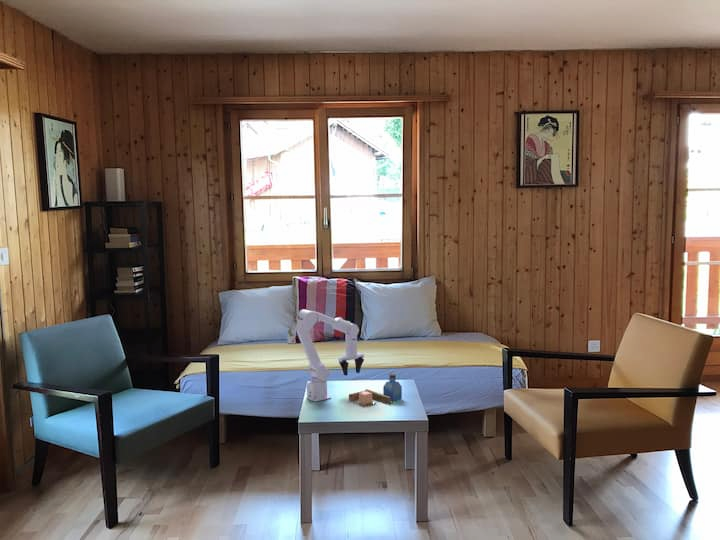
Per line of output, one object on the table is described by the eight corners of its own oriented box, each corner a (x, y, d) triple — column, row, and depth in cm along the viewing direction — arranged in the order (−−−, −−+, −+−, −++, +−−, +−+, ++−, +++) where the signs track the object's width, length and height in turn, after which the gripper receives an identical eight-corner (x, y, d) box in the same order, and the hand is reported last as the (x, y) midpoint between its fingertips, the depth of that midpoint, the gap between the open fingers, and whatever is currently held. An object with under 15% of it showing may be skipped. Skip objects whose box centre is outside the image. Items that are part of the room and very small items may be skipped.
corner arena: (369, 408, 284) (369, 402, 283) (346, 400, 298) (346, 394, 298) (390, 403, 291) (390, 397, 291) (367, 395, 306) (367, 389, 305)
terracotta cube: (358, 402, 293) (358, 392, 293) (366, 400, 296) (366, 391, 295) (364, 404, 289) (364, 394, 289) (372, 402, 292) (372, 393, 291)
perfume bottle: (392, 396, 302) (392, 372, 301) (401, 399, 298) (401, 374, 297) (383, 399, 298) (383, 375, 297) (392, 402, 293) (392, 377, 292)
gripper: (344, 350, 302) (344, 377, 303) (367, 346, 310) (368, 373, 311) (335, 348, 307) (336, 375, 308) (359, 344, 316) (359, 370, 317)
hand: (351, 373), depth 310 cm, fingers open, 7 cm apart
